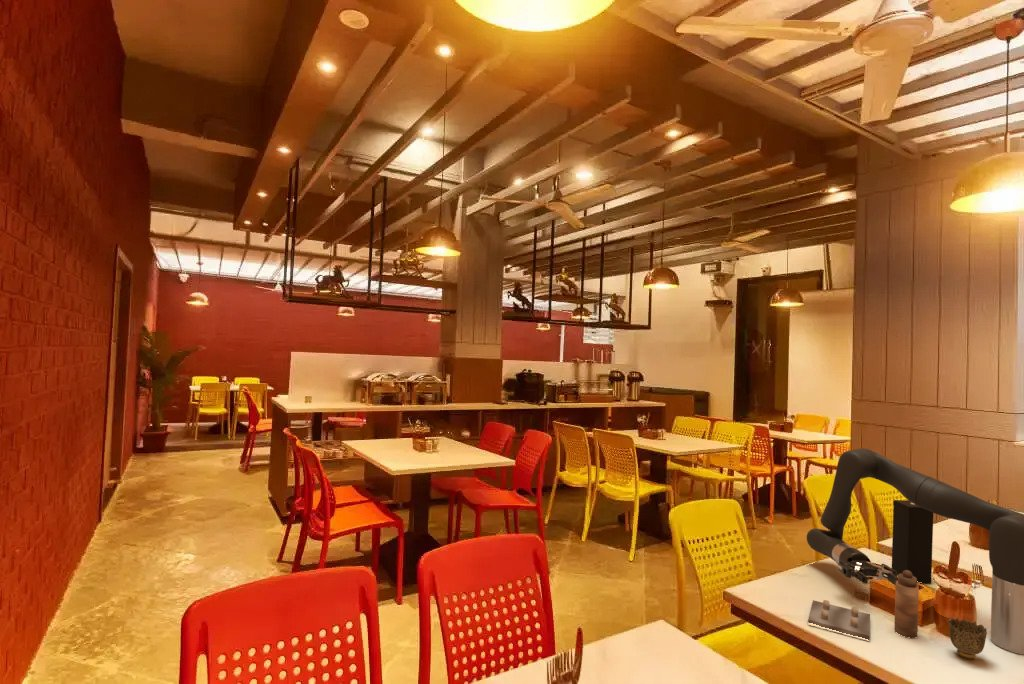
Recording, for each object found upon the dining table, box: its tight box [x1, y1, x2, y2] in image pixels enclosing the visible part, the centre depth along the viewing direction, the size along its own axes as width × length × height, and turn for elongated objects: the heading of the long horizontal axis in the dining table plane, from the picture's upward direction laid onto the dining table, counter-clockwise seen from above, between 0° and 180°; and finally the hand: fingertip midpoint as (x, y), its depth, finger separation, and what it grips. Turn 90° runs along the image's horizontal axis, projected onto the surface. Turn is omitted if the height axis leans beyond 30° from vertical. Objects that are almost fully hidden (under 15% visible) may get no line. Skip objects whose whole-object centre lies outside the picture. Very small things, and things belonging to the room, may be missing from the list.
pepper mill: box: [893, 570, 920, 639], centre depth 148 cm, size 5×5×17 cm
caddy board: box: [807, 599, 871, 640], centre depth 153 cm, size 14×14×4 cm
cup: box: [947, 617, 988, 661], centre depth 137 cm, size 8×7×8 cm
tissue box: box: [891, 499, 934, 585], centre depth 183 cm, size 8×8×28 cm
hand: (882, 581), depth 158 cm, fingers open, 8 cm apart
